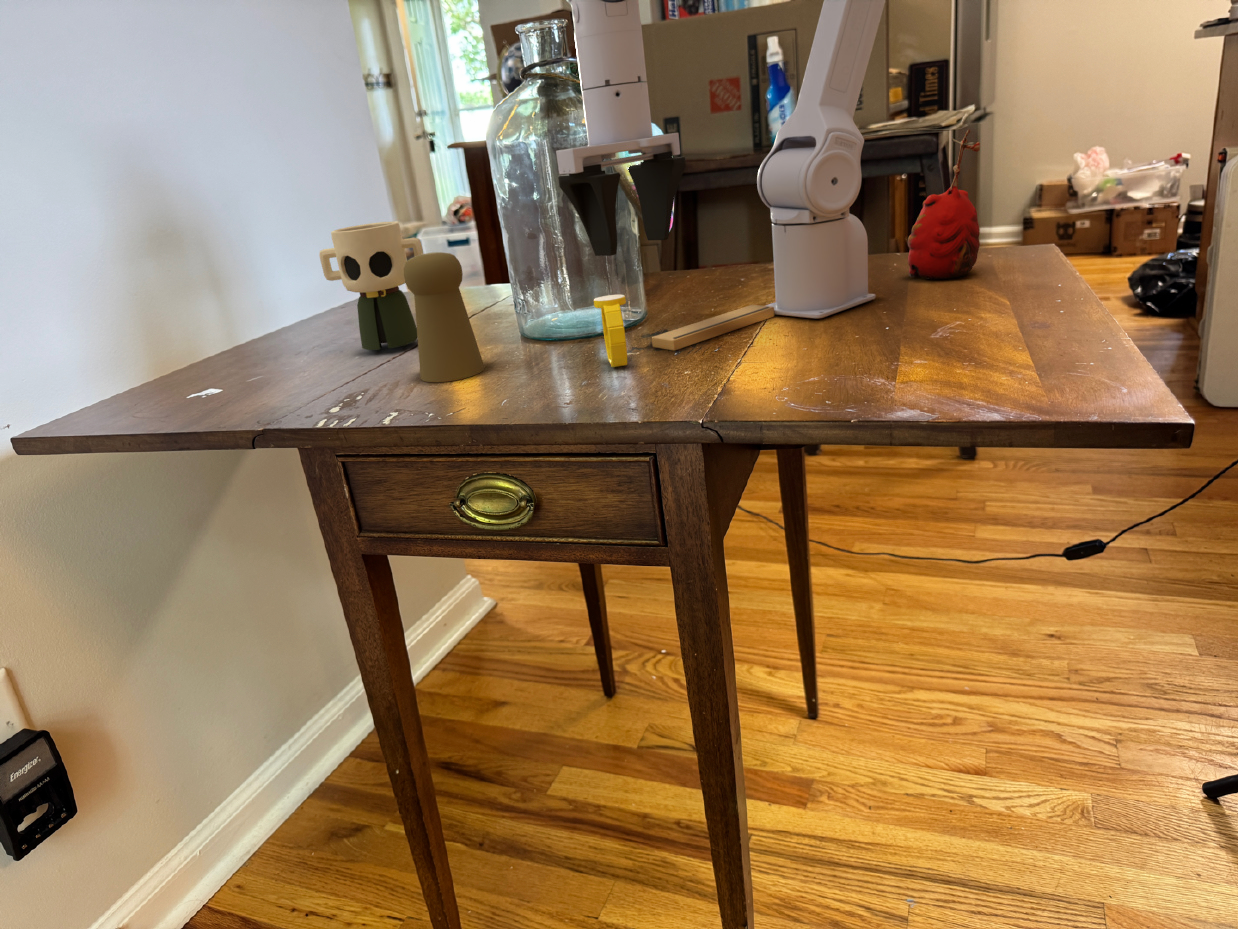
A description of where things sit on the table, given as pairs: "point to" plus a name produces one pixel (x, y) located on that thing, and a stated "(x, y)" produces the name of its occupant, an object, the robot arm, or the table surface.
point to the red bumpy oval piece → (946, 231)
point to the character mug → (375, 280)
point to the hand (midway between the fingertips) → (632, 247)
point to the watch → (613, 328)
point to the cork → (442, 319)
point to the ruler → (712, 327)
